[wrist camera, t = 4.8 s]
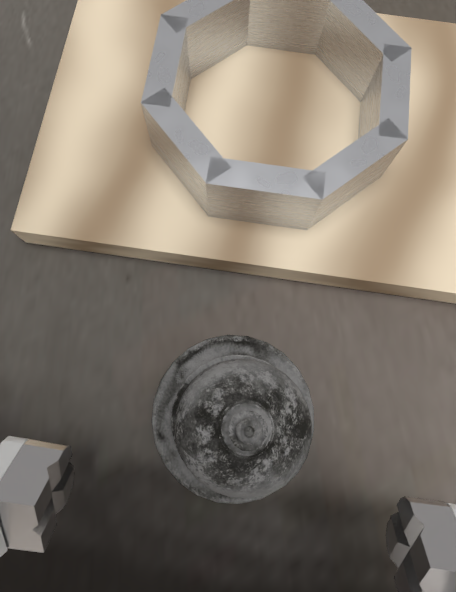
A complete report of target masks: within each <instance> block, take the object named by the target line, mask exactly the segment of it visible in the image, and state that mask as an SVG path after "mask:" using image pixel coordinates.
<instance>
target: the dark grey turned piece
mask: <svg viewBox="0 0 456 592" xmlns="http://www.w3.org/2000/svg"><path fill="white" fill-rule="evenodd" d="M152 427H153V433H154V439H155V445H156V447H157V449H158V451H159V454H160V456H161V458H162V461H163V463H164V465H165V466H166V467H167V469H168V470H169V471H170V472H171V474H172V475H173V476H174V477H175V479H176V480H177V481H178V482H179V483H180V484H182V485H183V486H184V487H186V488H187V489H189V490H190V491H191V492H193V493H194V494H196V495H197V496H200V497H203V498H206V499H209V500H212V501H214V502H217V503H232V504H242V503H246V502H251V501H255V500H259V499H262V498H264V497H266V496H268V495H269V494H271V493H273V492H275V491H277V490H278V489H280V488H282V487H284V486H285V485H286V484H287V483H288V482H289V481H290V480H291V479H292V478H293V477H294V476H295V475H296V474H297V473H298V472H299V470H300V468H301V467H302V465H303V463H304V462H305V460H306V458H307V455H308V451H309V448H310V444H311V440H312V435H313V432H314V408H313V404H312V400H311V396H310V392H309V388H308V386H307V384H306V383H305V381H304V379H303V377H302V375H301V373H300V371H299V370H298V368H297V367H296V366H295V365H294V364H293V363H292V362H291V361H290V360H289V359H288V357H287V356H286V355H285V354H284V353H282V352H281V351H279V350H278V349H276V348H274V347H273V346H271V345H270V344H268V343H267V342H264V341H261V340H258V339H254V338H251V337H248V336H236V335H225V336H220V337H215V338H210V339H206V340H204V341H202V342H200V343H198V344H196V345H194V346H192V347H190V348H189V349H187V350H186V351H185V352H184V353H183V354H182V355H181V356H179V357H178V358H177V359H176V360H175V361H174V362H173V363H172V365H171V366H170V367H169V369H168V370H167V372H166V373H165V375H164V376H163V378H162V379H161V382H160V384H159V387H158V390H157V393H156V395H155V398H154V404H153V414H152Z"/></svg>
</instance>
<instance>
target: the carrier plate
mask: <svg viewBox="0 0 456 592" xmlns="http://www.w3.org/2000/svg"><path fill="white" fill-rule="evenodd" d="M184 1H186V0H78V2H77V6H76V9H75V13H74V16H73V19H72V23H71V26H70V30H69V33H68V36H67V40H66V43H65V47H64V50H63V53H62V57H61V60H60V64H59V67H58V70H57V74H56V77H55V81H54V84H53V87H52V91H51V94H50V98H49V101H48V104H47V108H46V111H45V115H44V118H43V122H42V125H41V128H40V132H39V135H38V139H37V142H36V145H35V149H34V152H33V156H32V159H31V162H30V166H29V169H28V173H27V176H26V179H25V183H24V186H23V190H22V193H21V196H20V200H19V203H18V207H17V210H16V213H15V217H14V220H13V224H12V227H11V231H12V232H13V233H15V234H16V235H17V236H18V237H20V238H21V239H22V240H23V241H24V242H26V243H33V244H40V245H47V246H54V247H61V248H68V249H75V250H82V251H89V252H96V253H103V254H110V255H117V256H124V257H131V258H138V259H145V260H152V261H159V262H166V263H173V264H180V265H188V266H195V267H202V268H209V269H216V270H223V271H230V272H237V273H244V274H251V275H258V276H265V277H272V278H279V279H286V280H293V281H300V282H307V283H314V284H321V285H328V286H335V287H342V288H349V289H356V290H363V291H370V292H377V293H384V294H391V295H398V296H405V297H412V298H419V299H427V300H434V301H441V302H448V303H455V304H456V24H454V23H447V22H439V21H432V20H424V19H416V18H409V17H401V16H394V15H386V14H378V13H376V14H377V15H378V16H379V17H380V18H381V19H382V20H384V21H385V22H386V23H387V24H388V25H389V26H390V27H391V28H392V29H393V30H394V31H395V32H396V33H397V34H398V35H399V36H400V37H401V38H402V39H403V40H404V41H405V42H406V43H407V44H408V45H409V46H410V47H411V48H412V49H411V75H410V100H409V125H408V140H407V141H406V143H405V144H404V146H403V147H402V148H401V150H400V151H399V153H398V154H397V155H396V157H395V158H394V159H393V161H392V162H391V164H390V165H389V166H388V168H387V169H386V171H385V172H384V173H383V175H382V176H381V178H379V179H378V180H376V181H375V182H373V183H372V184H371V185H369V186H368V187H366V188H365V189H364V190H362V191H361V192H359V193H358V194H357V195H355V196H354V197H352V198H351V199H350V200H348V201H347V202H345V203H344V204H343V205H341V206H340V207H339V208H337V209H336V210H334V211H333V212H332V213H330V214H329V215H327V216H326V217H325V218H323V219H322V220H320V221H319V222H318V223H316V224H315V225H313V226H312V227H311V228H309V229H308V230H307V231H306V230H301V229H293V228H286V227H279V226H272V225H265V224H258V223H251V222H244V221H236V220H229V219H222V218H215V217H208V215H207V214H206V213H205V212H204V210H203V209H202V208H201V207H200V205H199V204H198V203H197V202H196V200H195V199H194V198H193V197H192V195H191V194H190V193H189V192H188V190H187V189H186V188H185V187H184V185H183V184H182V183H181V182H180V180H179V179H178V178H177V177H176V175H175V174H174V173H173V171H172V170H171V169H170V168H169V166H168V165H167V164H166V163H165V161H164V160H163V159H162V158H161V156H160V155H159V154H158V153H157V151H156V150H155V149H154V148H153V147H152V144H151V140H150V136H149V132H148V129H147V125H146V121H145V117H144V113H143V110H142V106H141V100H142V95H143V91H144V87H145V82H146V78H147V74H148V69H149V65H150V60H151V56H152V52H153V47H154V43H155V39H156V34H157V30H158V25H159V21H160V17H161V14H163V13H165V12H167V11H168V10H170V9H172V8H174V7H175V6H177V5H179V4H181V3H182V2H184ZM185 113H186V114H187V115H188V116H189V117H190V119H191V120H192V121H193V122H194V123H195V125H196V126H197V127H198V128H199V129H200V131H201V132H202V133H203V134H204V135H205V137H206V138H207V139H208V140H209V141H210V143H211V144H212V145H213V146H214V147H215V149H216V150H217V151H218V152H219V153H220V155H221V156H222V157H223V158H226V159H233V160H240V161H248V162H255V163H262V164H269V165H277V166H284V167H291V168H298V169H306V170H314V169H315V168H317V167H318V166H320V165H321V164H323V163H324V162H326V161H327V160H328V159H330V158H331V157H333V156H334V155H336V154H337V153H339V152H340V151H341V150H343V149H344V148H346V147H347V146H349V145H350V144H352V143H353V142H355V141H356V140H357V139H358V129H359V116H360V101H359V100H358V99H357V98H356V97H355V96H354V95H353V94H352V93H351V92H350V91H349V90H348V89H347V88H346V87H345V85H344V84H343V83H342V82H341V81H340V80H339V79H338V78H337V77H336V76H335V75H334V74H333V73H332V72H331V71H330V70H329V69H328V68H327V67H326V66H325V64H324V63H323V62H322V61H321V60H320V59H319V58H318V57H317V56H316V55H315V54H307V53H300V52H292V51H285V50H277V49H270V48H262V47H255V46H245V47H243V48H242V49H240V50H238V51H237V52H235V53H233V54H232V55H230V56H229V57H227V58H225V59H224V60H222V61H220V62H219V63H217V64H215V65H214V66H212V67H210V68H209V69H207V70H205V71H204V72H202V73H200V74H199V75H197V76H195V77H194V78H192V79H191V81H190V86H189V91H188V96H187V101H186V106H185Z"/></svg>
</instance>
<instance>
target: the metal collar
mask: <svg viewBox="0 0 456 592" xmlns="http://www.w3.org/2000/svg"><path fill="white" fill-rule="evenodd" d="M245 46H255V47H262V48H270V49H277V50H285V51H292V52H300V53H307V54H315V55H316V56H317V57H318V58H319V59H320V60H321V61H322V62H323V63H324V64H325V66H326V67H327V68H328V69H329V70H330V71H331V72H332V73H333V74H334V75H335V76H336V77H337V78H338V79H339V80H340V81H341V82H342V83H343V84H344V85H345V87H346V88H347V89H348V90H349V91H350V92H351V93H352V94H353V95H354V96H355V97H356V98H357V99H358V100H359V101H360V116H359V129H358V139H357V140H356V141H355V142H353V143H352V144H350V145H349V146H347V147H346V148H344V149H343V150H341V151H340V152H339V153H337V154H336V155H334V156H333V157H331V158H330V159H328V160H327V161H326V162H324V163H323V164H321V165H320V166H318V167H317V168H315V169H314V170H306V169H298V168H291V167H284V166H277V165H269V164H262V163H255V162H248V161H240V160H233V159H226V158H223V157H222V156H221V155H220V153H219V152H218V151H217V150H216V149H215V147H214V146H213V145H212V144H211V143H210V141H209V140H208V139H207V138H206V137H205V135H204V134H203V133H202V132H201V131H200V129H199V128H198V127H197V126H196V125H195V123H194V122H193V121H192V120H191V119H190V117H189V116H188V115H187V114H186V113H185V106H186V101H187V96H188V91H189V86H190V81H191V79H192V78H194V77H195V76H197V75H199V74H200V73H202V72H204V71H205V70H207V69H209V68H210V67H212V66H214V65H215V64H217V63H219V62H220V61H222V60H224V59H225V58H227V57H229V56H230V55H232V54H233V53H235V52H237V51H238V50H240V49H242V48H243V47H245ZM411 49H412V48H411V47H410V46H409V45H408V44H407V43H406V42H405V41H404V40H403V39H402V38H401V37H400V36H399V35H398V34H397V33H396V32H395V31H394V30H393V29H392V28H391V27H390V26H389V25H388V24H387V23H386V22H385V21H384V20H382V19H381V18H380V17H379V16H378V15H377V14H376V13H375V12H374V11H373V10H372V9H371V8H370V7H369V6H368V5H367V4H366V3H365V2H364V1H363V0H186V1H184V2H182V3H181V4H179V5H177V6H175V7H174V8H172V9H170V10H168V11H167V12H165V13H163V14H161V17H160V21H159V25H158V30H157V34H156V39H155V43H154V47H153V52H152V56H151V60H150V65H149V69H148V74H147V78H146V82H145V87H144V91H143V95H142V100H141V106H142V110H143V113H144V117H145V121H146V125H147V129H148V132H149V136H150V140H151V144H152V147H153V148H154V149H155V150H156V151H157V153H158V154H159V155H160V156H161V158H162V159H163V160H164V161H165V163H166V164H167V165H168V166H169V168H170V169H171V170H172V171H173V173H174V174H175V175H176V177H177V178H178V179H179V180H180V182H181V183H182V184H183V185H184V187H185V188H186V189H187V190H188V192H189V193H190V194H191V195H192V197H193V198H194V199H195V200H196V202H197V203H198V204H199V205H200V207H201V208H202V209H203V210H204V212H205V213H206V214H207V215H208V217H215V218H222V219H229V220H236V221H244V222H251V223H258V224H265V225H272V226H279V227H286V228H293V229H301V230H306V231H307V230H308V229H309V228H311V227H312V226H313V225H315V224H316V223H318V222H319V221H320V220H322V219H323V218H325V217H326V216H327V215H329V214H330V213H332V212H333V211H334V210H336V209H337V208H339V207H340V206H341V205H343V204H344V203H345V202H347V201H348V200H350V199H351V198H352V197H354V196H355V195H357V194H358V193H359V192H361V191H362V190H364V189H365V188H366V187H368V186H369V185H371V184H372V183H373V182H375V181H376V180H378V179H379V178H381V176H382V175H383V173H384V172H385V171H386V169H387V168H388V166H389V165H390V164H391V162H392V161H393V159H394V158H395V157H396V155H397V154H398V153H399V151H400V150H401V148H402V147H403V146H404V144H405V143H406V141H407V140H408V125H409V100H410V75H411Z"/></svg>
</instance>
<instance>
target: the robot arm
mask: <svg viewBox="0 0 456 592" xmlns="http://www.w3.org/2000/svg"><path fill="white" fill-rule="evenodd" d="M71 457H72V449H71V446H67V445H61V444H55V443H49V442H43V441H37V440H31V439H26V438H20V437H13V436H8V437H7V438H6V439H4V440H3V441H2V442H1V443H0V557H1V556H2V555H3V554H4V553H6V552H7V548H10V549H18V550H26V551H34V552H41V553H44V552H45V550H46V547H47V545H48V543H49V541H50V539H51V536H52V534H53V532H54V530H55V528H56V526H57V521H56V515H55V514H56V513H57V512H59V511H60V510H61V509H63V508H64V507H65V506H66V503H67V501H68V499H69V497H70V494H71V490H72V487H73V483H74V474H75V473H74V467H73V465H72V464H71V463H70V462H69V461H70V459H71ZM397 507H398V511H399V512H397V513H395V514H393V515H391V517H390V519H389V521H388V523H387V529H386V543H387V549H388V553H389V557H390V558H391V560H392V561H393V562H394V563H395V565H396V566H397V567H398V569H397V572H396V574H395V576H394V579H395V583H396V587H397V592H456V504H451V503H445V502H442V501H435V500H428V499H420V498H413V497H405V496H404V497H402V498H400V500H399V502H398V504H397Z"/></svg>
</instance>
